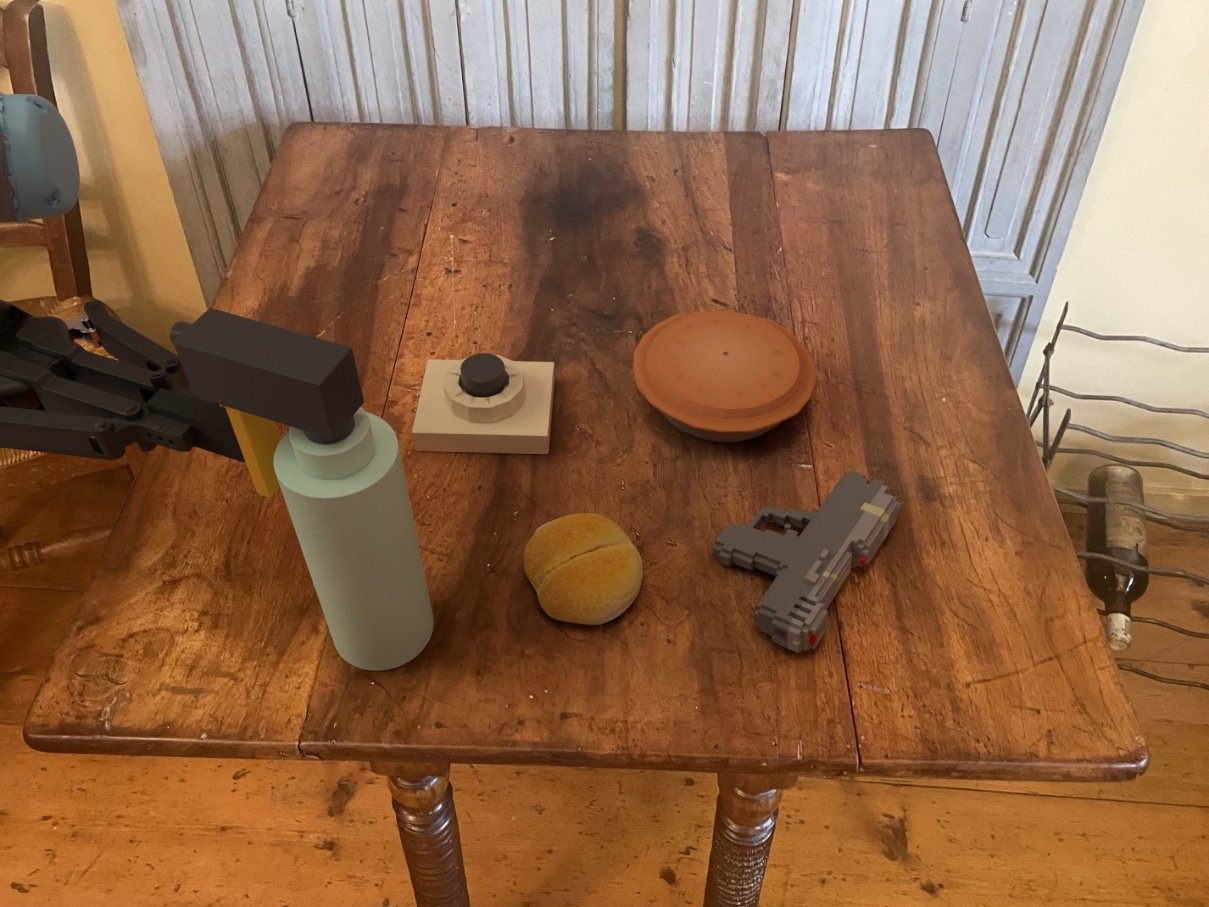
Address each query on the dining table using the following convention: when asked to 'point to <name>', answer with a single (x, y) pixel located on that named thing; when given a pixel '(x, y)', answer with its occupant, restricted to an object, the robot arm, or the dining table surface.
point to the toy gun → (810, 555)
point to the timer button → (483, 375)
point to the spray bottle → (325, 477)
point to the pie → (723, 374)
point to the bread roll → (583, 568)
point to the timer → (485, 411)
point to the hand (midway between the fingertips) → (249, 440)
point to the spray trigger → (257, 448)
